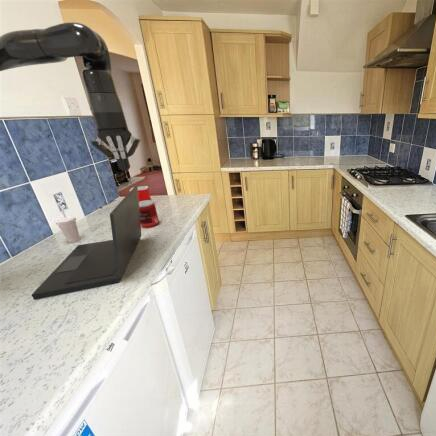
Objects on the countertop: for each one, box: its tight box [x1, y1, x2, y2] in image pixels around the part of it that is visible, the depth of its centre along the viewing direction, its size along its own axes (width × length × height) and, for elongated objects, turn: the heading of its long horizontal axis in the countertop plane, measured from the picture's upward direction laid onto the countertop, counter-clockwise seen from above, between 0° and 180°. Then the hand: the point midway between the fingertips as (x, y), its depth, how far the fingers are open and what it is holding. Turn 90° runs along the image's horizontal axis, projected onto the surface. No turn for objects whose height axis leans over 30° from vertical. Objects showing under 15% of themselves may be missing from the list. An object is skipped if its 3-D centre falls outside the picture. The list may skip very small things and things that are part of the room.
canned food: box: [139, 199, 160, 229], centre depth 112 cm, size 8×8×11 cm
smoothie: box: [54, 208, 81, 243], centre depth 99 cm, size 6×6×14 cm
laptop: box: [31, 239, 141, 301], centre depth 84 cm, size 21×30×2 cm
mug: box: [129, 185, 152, 202], centre depth 134 cm, size 12×8×11 cm
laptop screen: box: [109, 185, 142, 279], centre depth 84 cm, size 21×30×1 cm
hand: (125, 170), depth 77 cm, fingers closed
